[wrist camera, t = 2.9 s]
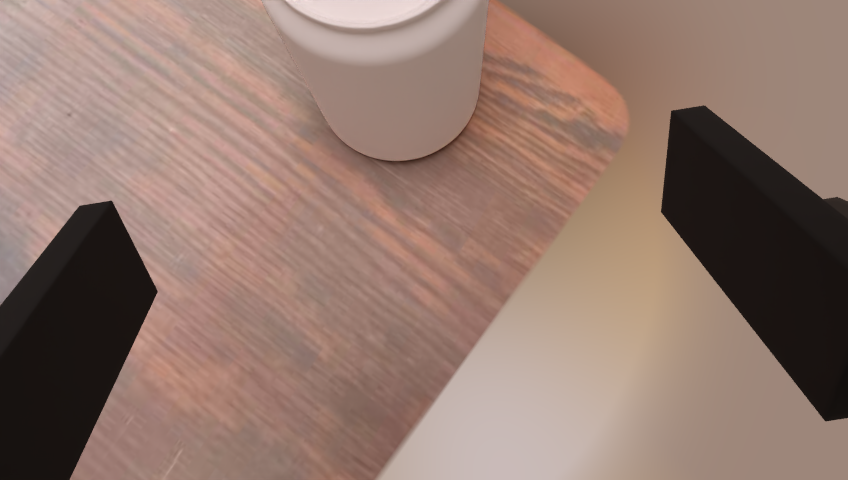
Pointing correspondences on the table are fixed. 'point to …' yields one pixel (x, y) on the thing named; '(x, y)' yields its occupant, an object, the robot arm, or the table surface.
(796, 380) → the robot arm
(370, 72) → the beverage can
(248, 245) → the table surface
